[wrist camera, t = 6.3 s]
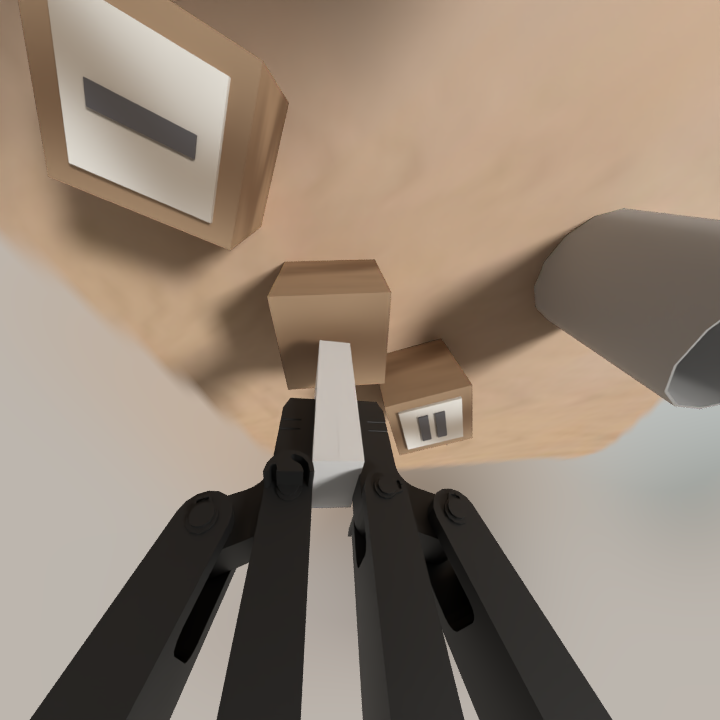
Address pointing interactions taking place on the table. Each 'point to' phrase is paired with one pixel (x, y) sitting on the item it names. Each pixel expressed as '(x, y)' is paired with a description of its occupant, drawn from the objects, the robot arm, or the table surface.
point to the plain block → (331, 317)
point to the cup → (642, 299)
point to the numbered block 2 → (426, 397)
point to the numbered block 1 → (155, 112)
